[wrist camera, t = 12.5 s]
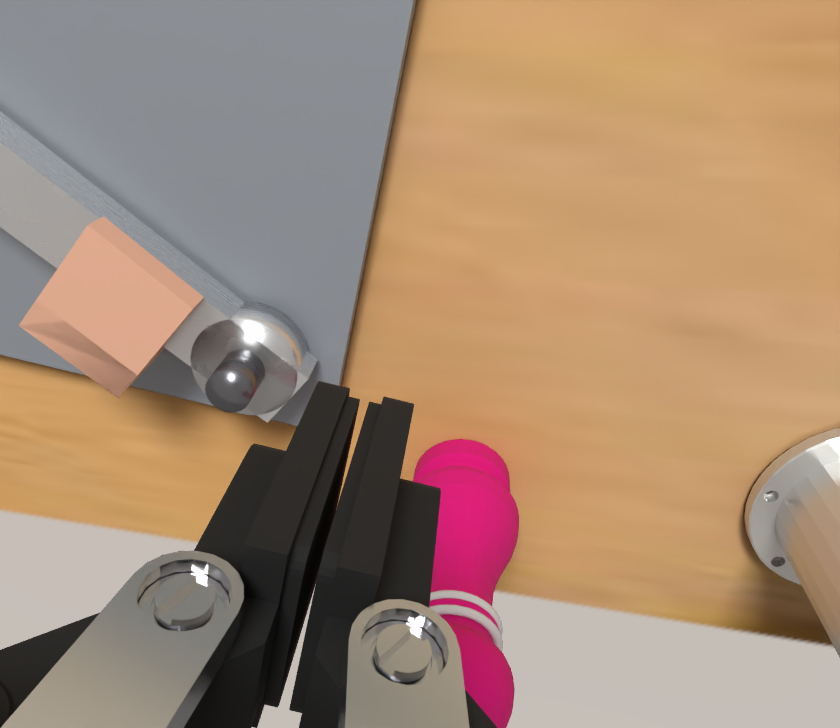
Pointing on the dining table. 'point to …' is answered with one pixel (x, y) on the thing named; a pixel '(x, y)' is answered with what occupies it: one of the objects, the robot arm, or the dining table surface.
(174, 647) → the robot arm
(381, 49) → the slate board
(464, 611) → the pepper mill
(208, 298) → the steel link
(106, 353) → the block
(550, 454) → the dining table surface
